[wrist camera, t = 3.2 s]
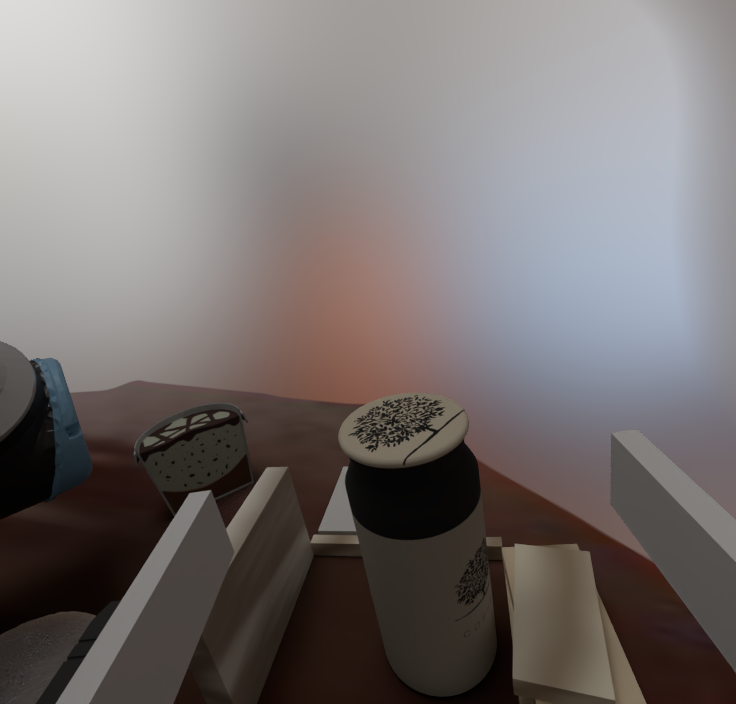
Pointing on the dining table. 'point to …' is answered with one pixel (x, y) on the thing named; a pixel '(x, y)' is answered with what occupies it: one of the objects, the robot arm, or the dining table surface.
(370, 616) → the dining table surface
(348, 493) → the travel mug
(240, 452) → the food container
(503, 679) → the dining table surface
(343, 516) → the mat
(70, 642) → the pillar candle
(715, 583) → the robot arm
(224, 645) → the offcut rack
